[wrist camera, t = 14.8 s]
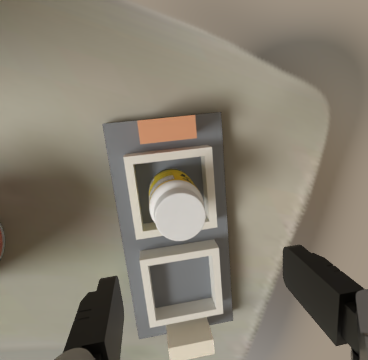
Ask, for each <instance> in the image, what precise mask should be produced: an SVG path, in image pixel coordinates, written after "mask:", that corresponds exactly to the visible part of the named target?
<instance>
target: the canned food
mask: <svg viewBox="0 0 368 360" xmlns="http://www.w3.org/2000/svg"><path fill="white" fill-rule="evenodd" d="M4 247H5V236H4V231H3V228H2V225H1V223H0V260H1V258H2V255H3V252H4Z"/></svg>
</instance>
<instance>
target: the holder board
mask: <svg viewBox="0 0 368 360" xmlns="http://www.w3.org/2000/svg"><path fill="white" fill-rule="evenodd" d="M102 125H103V131H104V136H105V142H106V148H107V154H108V160H109V166H110V172H111V177H112V183H113V189H114V195H115V201H116V207H117V213H118V218H119V224H120V230H121V236H122V242H123V248H124V254H125V260H126V265H127V271H128V277H129V283H130V289H131V295H132V301H133V306H134V312H135V318H136V324H137V330H138V336H139V339H143V338H148V337H153V336H158V335H163V334H167V340H168V350H169V357H170V360H188V359H192V358H197V357H202V356H206V355H211V354H215V352H214V340H213V336H212V333H211V330H210V326H209V325H213V324H218V323H223V322H228V321H233V312H232V295H231V277H230V260H229V243H228V225H227V208H226V190H225V173H224V155H223V138H222V120H221V112H217V113H207V114H197V115H187V116H177V117H167V118H157V119H147V120H136V121H126V122H116V123H106V124H102ZM168 168H175V169H179V170H181V171H183V172H184V173H186V174H187V175H188V177H189V178H190V179H191V180H192V182H193V183H194V185H195V186H196V187H197V188H198V190H199V191H200V193H201V195H202V197H203V201H204V208H205V211H206V219H205V223H204V226H203V228H202V229H201V231H200V232H199V233H198V234H197V235H196V236H194V237H193V238H191V239H188V240H185V241H174V240H170V239H168V238H166V237H164V236H163V235H162V234H161V233H160V232H159V230H158V229H157V227H156V224H155V223H154V221H153V220H152V218H151V215H150V211H149V185H150V182H151V180H152V178H153V177H154V176H155V175H156V174H157V173H158V172H159V171H161V170H164V169H168Z"/></svg>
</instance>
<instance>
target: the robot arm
mask: <svg viewBox="0 0 368 360" xmlns="http://www.w3.org/2000/svg"><path fill="white" fill-rule="evenodd" d="M283 279H284V282H285V285H286V287H287V288H288V289H289V291H290V292H291V293H292V294H293V295H294V297H295V298H296V299H297V300H298V301H299V303H300V304H301V305H302V306H303V307H304V308H305V310H306V311H307V312H308V313H309V314H310V315H311V316H312V318H313V319H314V320H315V322H316V323H317V324H318V325H319V326H320V328H321V329H322V330H323V331H324V332H325V333H326V335H327V336H328V337H329V338H330V339H331V340H332V342H333V343H334V344H335V345H336V346H339V345H343V344H347V343H348V344H349V345H350V346H351V360H368V289H364V288H363V287H361V286H360V285H359V284H357V283H356V282H355V281H354V280H352V279H351V278H350V277H348V276H347V275H346V274H345V273H343V272H342V271H340V270H339V269H338V268H337V267H336V266H333V264H331V263H330V262H329V261H328V260H327V259H325V258H324V257H321V256H319V255H317V254H315V253H310V252H309V251H308V250H306V249H305V248H304V247H303V246H302V245H295V246H288V247H284V249H283ZM123 323H124V308H123V301H122V296H121V291H120V285H119V280H118V277H117V276H113V277H107V278H101V279H100V280H99V284H98V287H97V291H95V292H89V293H88V294H87V295H86V296H85V297H84V298H83V300H82V301H81V302H80V305H79V308H78V311H77V314H76V317H75V321H74V322H73V325H72V328H71V331H70V334H69V337H68V340H67V343H66V346H65V349H64V351H63V353H62V354H60V355H59V356H58V357H57V358H55V359H54V360H120V353H121V343H122V333H123Z"/></svg>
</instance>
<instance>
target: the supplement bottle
mask: <svg viewBox="0 0 368 360" xmlns="http://www.w3.org/2000/svg"><path fill="white" fill-rule="evenodd" d="M149 211H150V215H151V218H152V220H153V221H154V223H155V224H156V227H157V229H158V230H159V232H160V233H161V234H162V235H163V236H164V237H166V238H168V239H170V240H174V241H185V240H188V239H191V238H193V237H194V236H196V235H197V234H198V233H199V232H200V231H201V229H202V228H203V226H204V223H205V219H206V211H205V208H204V201H203V197H202V195H201V193H200V191H199V190H198V188H197V187H196V186H195V185H194V183H193V182H192V180H191V179H190V178H189V177H188V175H187V174H186V173H184V172H183V171H181V170H179V169H175V168H168V169H164V170H161V171H159V172H158V173H157V174H156V175H155V176H154V177H153V178H152V180H151V182H150V185H149Z"/></svg>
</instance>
